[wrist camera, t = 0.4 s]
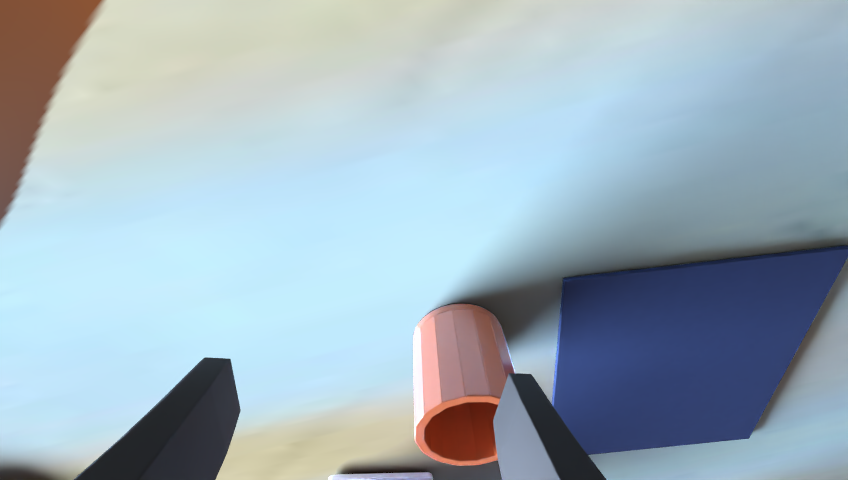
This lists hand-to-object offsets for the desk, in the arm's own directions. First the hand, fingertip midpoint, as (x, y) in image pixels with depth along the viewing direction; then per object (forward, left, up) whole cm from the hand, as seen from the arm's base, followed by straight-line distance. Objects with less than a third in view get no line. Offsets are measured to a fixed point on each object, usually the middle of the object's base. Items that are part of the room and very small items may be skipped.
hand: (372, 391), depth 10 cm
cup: (-8, -4, -10) cm, 13 cm away
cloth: (-11, -18, -10) cm, 23 cm away
